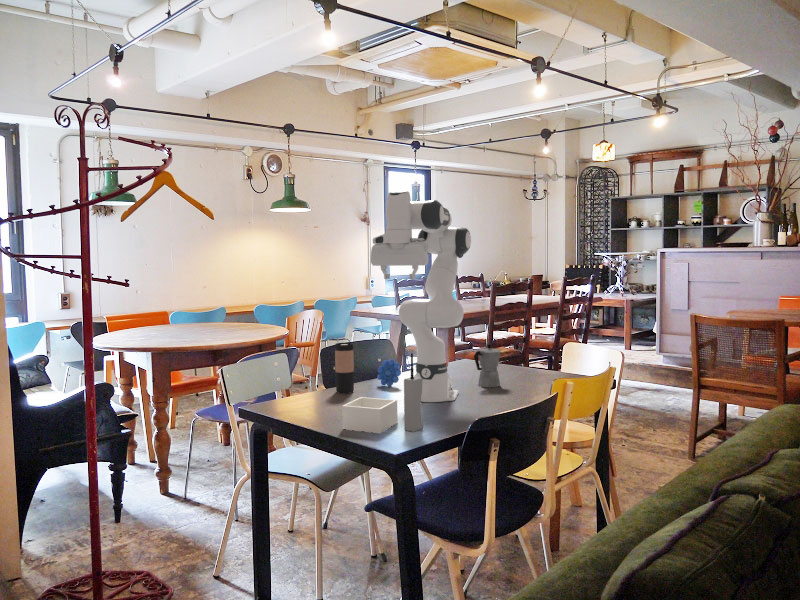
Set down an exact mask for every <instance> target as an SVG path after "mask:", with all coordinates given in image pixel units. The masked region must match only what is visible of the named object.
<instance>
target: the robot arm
mask: <svg viewBox="0 0 800 600" xmlns="http://www.w3.org/2000/svg"><path fill="white" fill-rule="evenodd" d="M385 220H386V227H385V233H383V234H380V235H378V236H376V237H373V238H372V244H373V246H372V247H371V250H370V263H371V265H372V266H376V267H377V266H378V267H380V270H381V272H382V274H383V279H384V280H390V279H391V277H390V275H391V274H390V273H388V272H387V271H388V270H386V269H387V268H388V266H396V267H398V266H399V267H400V266H412V267H411V269H412V272H411V273H409V275H408V276H409V280H416V273H418V270H419V266H427V265H428V263H429V255H430V254H433V255H437V256H436V257H435V259H434V260H433V263H432V265H431V267H430V269H429V272H428V275H427V278H426V281H425V285H424V289H425V293H426V294H427V295H428V296H429V297H430V298H411V299H408V300H407V299H406V300H404V301H403V302H402V303H401V304H400V306H399V309H398V317H399V320H400V322H401V323H402V324H403V325H404V326H406V328H407V329H409V331H410V332H411V334H412V335H413V336H412V337H413V339H414V341H415V346H416V363H415V374H413V377H419V378H423V381H422V395H421V403H422V402H423V403H440V402H441V403H442V402H449V401H450V402H451V401H455V400H456V399H457V397H458V395H459V389H455V388H454V381H453V378H452V377H451V375H450V374H449V373H448V367H449V361H446V344H445V341H444V340H443V339H442V338H440V337H438V336H437V335H436V334H434V332H433V330H432V328H439V329H440V328H442V329H443V328H444V329H447V328H453V327H458V326H459V325H460V324H461V323H462V321H463V319H464V315H465V313H464V308H463V306H462V304H461V303H460V301H458V300H456V299H455V297H454V296H453V295H454V294H453V291H454V286H455V283H456V279H457V274H458V267H459V265H458V259H462V258H463V257H464V255H465V254H466V253H467V252H468V251H469V249H470V248H471V245H472V244H471V243H472V236H471V232H470V231H469V229H468V228H467V227H461V226H458V227H455V226H451V224H452V221H453V220H452V215H451V213H450V211H449V209H447V208H446V207H444V206H443V204H442V203H441V202H440V201H439V200H437V199H433V200H422V201H412V200H411V194H410V192H409V191H408V190H396V191H395V190H394V191H393V190H392V191H390V192H388V193H387V196H386V202H385ZM413 230H420V231H419V233H418V234H417V235H418V236H417V237H413Z"/></svg>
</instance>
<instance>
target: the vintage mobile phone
mask: <svg viewBox="0 0 800 600" xmlns="http://www.w3.org/2000/svg"><path fill="white" fill-rule="evenodd" d="M413 362H414V354H413V352H411V353H410V377H408V378H404V379H403V395H404V396H403V406H404V407H403V408H404V409H403V412H404V413H403V414H404V417H403V418H404V424H403V425H404V426H403V427H404V431H406V430H407V432H411V433H415V432H418V431H420V430H421V431H422V430H423V429H424V424H423V422H422V401H421V395H422V381H423V378H419V377H413V376H414V363H413Z"/></svg>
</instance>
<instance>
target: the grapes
mask: <svg viewBox="0 0 800 600" xmlns="http://www.w3.org/2000/svg"><path fill="white" fill-rule="evenodd" d="M377 372H378V374H377V377H376V378H377V380H380V384H381V386H387V387H389V386H390V387H392V386H393V385H394V384H397V383H398V382H399V377H400V376H401V374H402V371H401V369H400V363H399V362H398V361H397V362H395V359H393V358H389V360H383V361H382V362H381V365H379V366H378V367H377Z"/></svg>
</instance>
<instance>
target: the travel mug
mask: <svg viewBox="0 0 800 600" xmlns="http://www.w3.org/2000/svg"><path fill="white" fill-rule="evenodd" d="M354 354H355V353H354V343H351V342H337V343H334V365H335V369H334V370H335V371H334V373H335V391H337V392H339V393H338V394H341V393H347V394H350V393H349V392H352V393H354V392H355V390H354V389H355V388H354V387H355V363H354V362H355V361H354V357H355V356H354ZM353 391H354V392H353ZM337 392H336V393H337Z"/></svg>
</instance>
